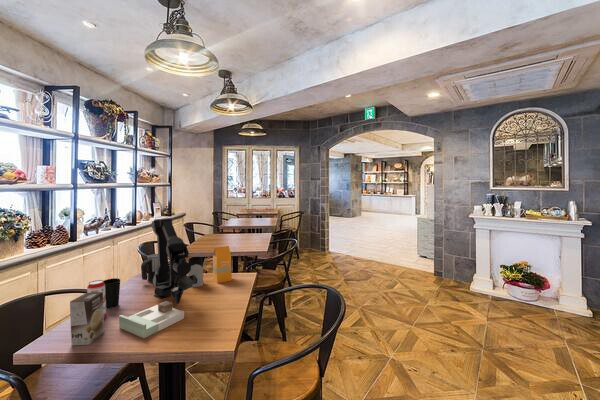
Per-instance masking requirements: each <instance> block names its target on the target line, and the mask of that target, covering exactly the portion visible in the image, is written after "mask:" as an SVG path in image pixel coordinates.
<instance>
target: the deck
mask: <svg viewBox="0 0 600 400" xmlns="http://www.w3.org/2000/svg"><path fill="white" fill-rule="evenodd" d="M184 319H185V311H184V310H180V309H178V308H174V307H173V309H172V310H170V311H168V312H166V313H163V312H160V311H158V304H156V305H154V306H151V307H149V308H146V309H144V310H141V311H139V312H136V313H134V314H132V315H129V316H126V315H123V314H120V315H118V327H119V329H121V330H124V331H126V332H128V333H131V334H134V335H135V336H137V337H140V338H142V339H146V338H148V337H150V336H151V335H153V334H156V333H157V332H159V331H162V330H163V329H166V328H167V327H169V326H171V325H174V324H176V323H178V322H180V321H181V320H184Z"/></svg>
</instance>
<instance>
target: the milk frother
mask: <svg viewBox="0 0 600 400" xmlns="http://www.w3.org/2000/svg"><path fill="white" fill-rule="evenodd" d="M146 258H147V259H145V260H144V261H142V262H141V264H140V271H141V279H142V280H143V281H147V282H148V283H153V278H154V275H155V270H156V268H157V267H158V253H153V254H152V253H151V254H149V255H147V257H146Z"/></svg>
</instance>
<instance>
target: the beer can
mask: <svg viewBox="0 0 600 400" xmlns="http://www.w3.org/2000/svg"><path fill="white" fill-rule="evenodd" d="M103 281H104V280H103V279H97V280H92V281H89V282H88V285H87V288H86V289H87V292H86V293H91V292H103V312H104V319H105V318H106V316H107V309H106V295H105V284H104V282H103Z"/></svg>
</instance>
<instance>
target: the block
mask: <svg viewBox="0 0 600 400" xmlns="http://www.w3.org/2000/svg"><path fill="white" fill-rule="evenodd" d="M157 305H158V311H160V312H163V313H166V312H168V311H170V310H172V309H173V308H174V307H173V302H171V301H169V300H168V301H167V300H165V301H162V302H160V303H158V304H157Z"/></svg>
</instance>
